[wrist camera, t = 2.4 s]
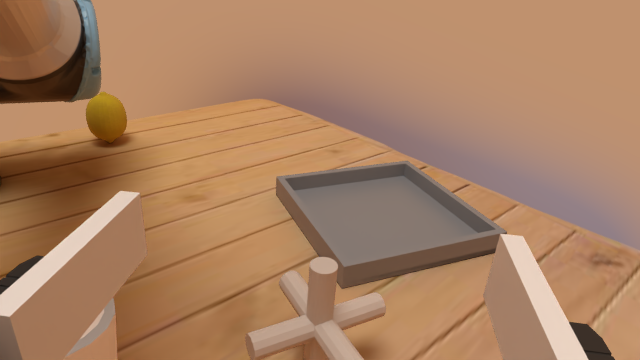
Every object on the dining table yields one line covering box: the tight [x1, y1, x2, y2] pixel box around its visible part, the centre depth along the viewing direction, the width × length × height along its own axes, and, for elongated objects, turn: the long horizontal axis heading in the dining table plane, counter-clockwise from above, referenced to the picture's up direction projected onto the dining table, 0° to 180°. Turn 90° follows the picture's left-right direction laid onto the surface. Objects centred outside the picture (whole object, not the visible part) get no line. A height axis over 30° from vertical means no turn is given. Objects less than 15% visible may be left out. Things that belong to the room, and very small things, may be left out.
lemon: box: [86, 92, 127, 143], centre depth 68 cm, size 6×6×8 cm
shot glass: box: [63, 298, 118, 360], centre depth 29 cm, size 7×7×7 cm
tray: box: [276, 161, 507, 288], centre depth 54 cm, size 20×20×2 cm
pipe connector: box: [245, 257, 386, 360], centre depth 31 cm, size 10×10×10 cm
